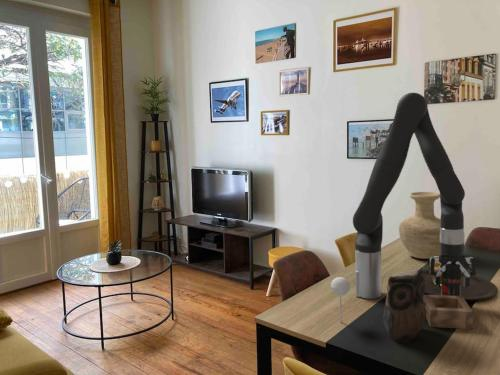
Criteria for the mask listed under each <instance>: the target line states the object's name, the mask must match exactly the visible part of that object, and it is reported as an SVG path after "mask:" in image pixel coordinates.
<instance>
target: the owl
mask: <svg viewBox="0 0 500 375" xmlns="http://www.w3.org/2000/svg"><path fill="white" fill-rule="evenodd" d="M425 283H426V280H425V278H424V275H423V267H417V268H414V269H407V270H404V271H401V272H398V273H396V274H393V275H390V276H389V277H388V279H387V286H386V291H387V293H386V298H385V303H384V304H385V305H384V312H383V317H382V319H383V325H384V328H385V331H386V333H387V335H388V338H389V340H391V341H393V342H396V343H409V342H411V340H415V338H416V339H417V338H418V337H419V336H421V337H422V335H423V328H424V324H425V321H426V320H427V318H426V312H427V311H426V308H425V305H426V304H425V303H424V301H423V296H424V295H425V291H426V284H425Z"/></svg>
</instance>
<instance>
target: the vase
mask: <svg viewBox="0 0 500 375" xmlns="http://www.w3.org/2000/svg"><path fill="white" fill-rule="evenodd" d="M409 197H410V199H412V200H414V202H415V207H414V208H415V213H414V215H413V216H410V217H408V218H406V219H404V220H403V221H401V223H400V224H399V226H398V233H399V234H398V235H399V237H400V241H401V243H402V244H403V246H404V247H405V249H406V251H407V254H408V255H409V256H411V257H413V258H416V259H423V260H430V256H433V257H434V256H440V239H439V237H440V229H441V218H439V217H437V216H436V215H435V209H434V208H435V201H436V200H440V193H438V192H432V191H416V192H411V193H409Z"/></svg>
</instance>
